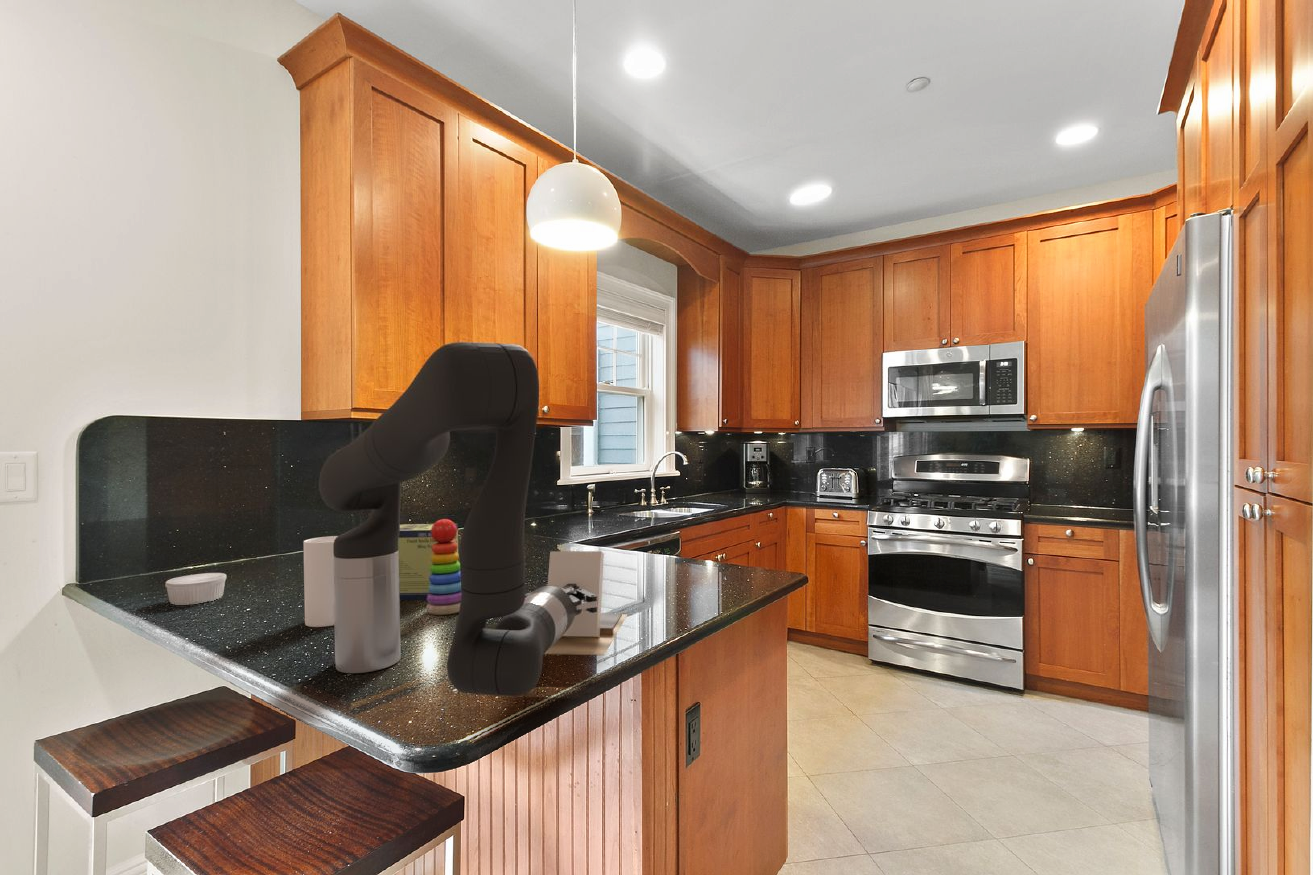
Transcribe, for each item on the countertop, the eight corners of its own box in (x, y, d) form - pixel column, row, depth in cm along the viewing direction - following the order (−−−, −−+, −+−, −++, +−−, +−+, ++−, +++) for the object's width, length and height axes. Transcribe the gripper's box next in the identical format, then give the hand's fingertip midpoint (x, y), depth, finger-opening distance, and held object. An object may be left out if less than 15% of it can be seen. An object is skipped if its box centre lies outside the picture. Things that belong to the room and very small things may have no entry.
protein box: (445, 599, 135) (444, 528, 135) (374, 600, 135) (373, 530, 135) (460, 587, 145) (459, 522, 146) (394, 589, 145) (393, 524, 145)
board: (604, 661, 94) (603, 646, 94) (516, 659, 96) (516, 645, 96) (627, 619, 116) (627, 607, 116) (555, 618, 118) (555, 607, 118)
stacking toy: (473, 605, 129) (471, 516, 129) (457, 616, 121) (455, 521, 121) (437, 605, 130) (435, 517, 130) (419, 616, 122) (417, 522, 122)
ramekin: (202, 607, 133) (201, 583, 133) (151, 608, 133) (151, 584, 133) (238, 594, 144) (238, 572, 144) (192, 595, 144) (191, 573, 144)
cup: (299, 621, 120) (298, 539, 120) (344, 612, 126) (342, 534, 126) (312, 629, 114) (310, 544, 114) (358, 619, 120) (356, 538, 120)
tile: (596, 636, 101) (600, 551, 106) (543, 635, 102) (550, 551, 107) (600, 637, 103) (604, 554, 108) (548, 636, 105) (554, 554, 109)
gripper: (586, 593, 85) (610, 567, 103) (495, 592, 87) (534, 567, 104) (587, 646, 85) (611, 611, 103) (496, 645, 87) (535, 611, 104)
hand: (572, 589), depth 103 cm, fingers closed
